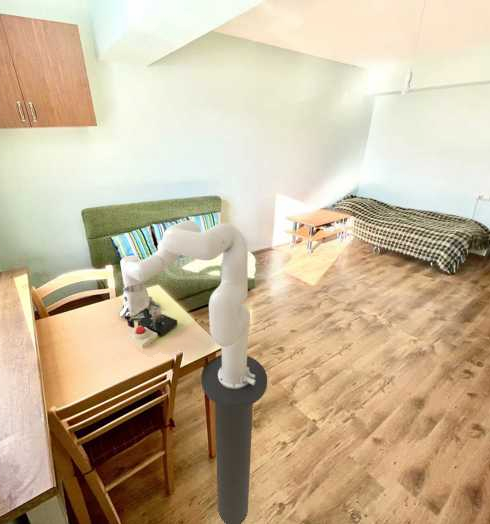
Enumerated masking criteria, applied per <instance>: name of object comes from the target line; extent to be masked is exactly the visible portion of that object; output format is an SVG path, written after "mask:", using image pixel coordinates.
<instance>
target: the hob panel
mask: <svg viewBox="0 0 490 524" xmlns="http://www.w3.org/2000/svg"><path fill="white" fill-rule="evenodd" d="M149 316H150V317H149V318H147V317H144V318H140V320H138V321H137V328H138V327H139V326H142V327H146V328H148V329H149V330H151V331H153V332H156V333H158V337H160V338H161V337H163V336H165V335H166V334H167V333H168V332H170V331H171V330H172V329H173V328H175V327H176V326H178V319H175V318H172V317H171V316H167V315H165V314H162V313H161V316H162V322H160V323H158V324H155V323H153V321H152V313H151V314H149Z"/></svg>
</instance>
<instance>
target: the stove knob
mask: <svg viewBox="0 0 490 524" xmlns="http://www.w3.org/2000/svg"><path fill="white" fill-rule="evenodd" d="M151 313H152V321H153V323H155V324H158V323H160V322H162V316H161V314H162V310H161V309H158V308H156V309H154V310H153V311H152V312H151Z"/></svg>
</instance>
